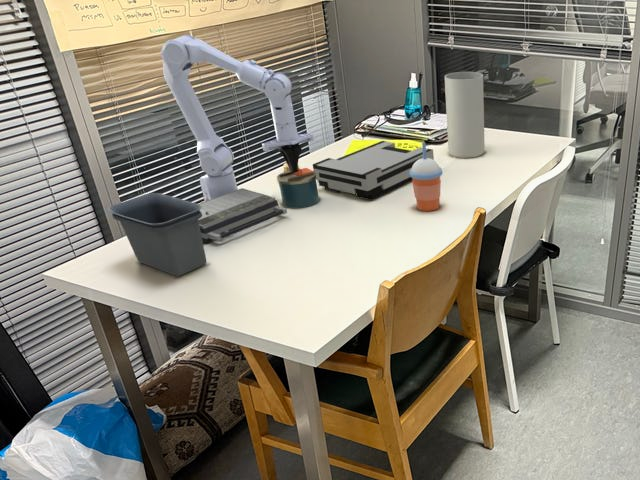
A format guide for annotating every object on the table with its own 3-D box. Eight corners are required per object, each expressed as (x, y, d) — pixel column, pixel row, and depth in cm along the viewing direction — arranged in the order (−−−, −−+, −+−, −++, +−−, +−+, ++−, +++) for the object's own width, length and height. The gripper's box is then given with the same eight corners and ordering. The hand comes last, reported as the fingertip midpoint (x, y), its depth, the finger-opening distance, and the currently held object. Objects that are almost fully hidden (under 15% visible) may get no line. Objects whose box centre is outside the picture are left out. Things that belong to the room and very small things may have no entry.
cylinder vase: (444, 150, 229) (440, 73, 215) (478, 146, 232) (476, 70, 218) (454, 160, 219) (450, 81, 205) (489, 156, 222) (488, 77, 208)
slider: (299, 176, 186) (298, 170, 185) (293, 173, 188) (292, 167, 187) (313, 172, 188) (312, 166, 187) (307, 169, 191) (306, 163, 190)
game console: (434, 171, 211) (432, 145, 206) (369, 203, 189) (365, 175, 184) (384, 161, 220) (382, 137, 216) (317, 191, 198) (312, 164, 194)
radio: (240, 185, 189) (286, 198, 179) (244, 202, 192) (289, 216, 182) (163, 212, 173) (209, 228, 163) (169, 231, 176) (215, 248, 166)
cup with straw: (439, 214, 181) (435, 148, 170) (408, 212, 182) (402, 147, 172) (447, 202, 188) (444, 138, 178) (417, 200, 190) (412, 137, 179)
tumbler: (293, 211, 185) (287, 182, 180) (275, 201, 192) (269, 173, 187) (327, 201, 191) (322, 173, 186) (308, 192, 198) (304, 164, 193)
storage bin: (121, 263, 159) (100, 207, 151) (176, 241, 170) (160, 187, 162) (174, 285, 149) (155, 226, 141) (230, 259, 160) (215, 203, 152)
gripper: (266, 130, 172) (276, 181, 180) (315, 119, 180) (323, 168, 187) (254, 125, 176) (265, 175, 184) (303, 115, 184) (311, 163, 192)
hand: (293, 171), depth 186 cm, fingers closed
